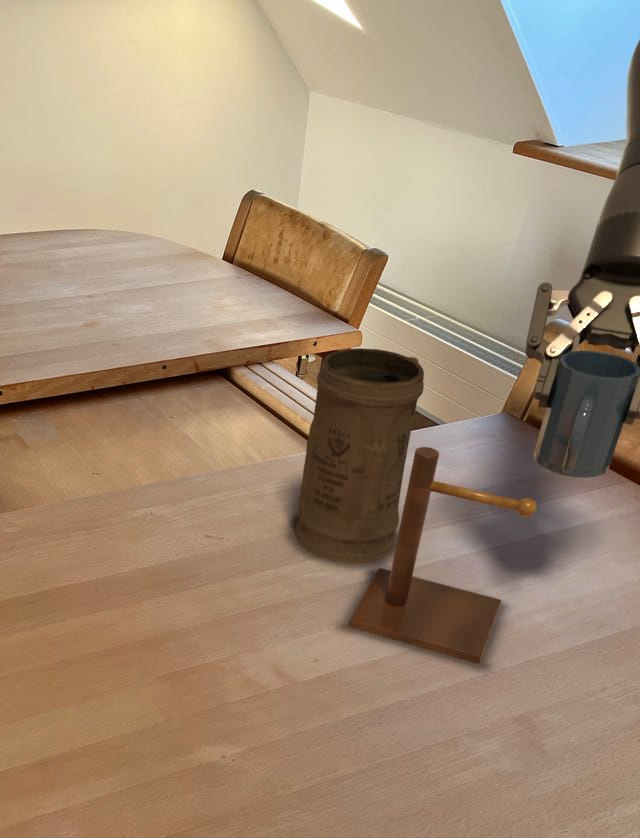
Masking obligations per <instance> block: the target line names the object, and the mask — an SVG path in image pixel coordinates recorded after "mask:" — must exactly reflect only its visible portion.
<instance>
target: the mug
mask: <svg viewBox="0 0 640 838" xmlns="http://www.w3.org/2000/svg"><path fill="white" fill-rule="evenodd" d="M639 375H640V367H639V366H638V365H637V364H636V363H635V362H633V360H632V359H629V358H627V357H625V356H621V355H618V354H616V353H612V352H606V351H600V350H586V349H585V350H583V349H582V350H576V351H572V352H568V353H566V354H563V355H562V356H561V358H560V360H559V364H558V368H557V371H556V376H555V379H554V383H553V386H552V390H551V394H550V397H549V401H548V405H547V408H545V412H544V415H543V418H542V423H541V427H540V429H539V434H538V437H537V439H536V444H535V447H534V454H533V458H534V461H535V462H536V463H537V464H538V465H540V466H541V467H542V468H544V469H546V470H547V471H550V472H552V473H554V474H558V475H560V476H561V475H562V476H565V477H572V478H580V479H583V478H584V479H586V478H589V479H590V478H595V477H599V476H602V475H605V474H606V473H607V472H608V471H609V469H610V465H611V463H612V460H613V457H614V454H615V451H616V447H617V446H618V445H617V444H618V442H619V439H620V436H621V432H622V429H623V427H624V424H625V423H624V420H625V417H626V414H627V411H628V408H629V405H630V402H631V399H632V396H633V393H634V390H635V387H636V384H637V381H638V378H639Z"/></svg>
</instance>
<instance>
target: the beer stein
mask: <svg viewBox="0 0 640 838" xmlns="http://www.w3.org/2000/svg"><path fill="white" fill-rule="evenodd" d="M424 378H425V371H424V368H423V366H422V365H421V364H420V363H419V359H418V358H417V357H414V356H413V357H412V356H406V355H403V354H401V353H398V352H393V351H389V350H384V349H378V348H360V347H358V348H357V347H356V348H346V349H341V350H337V351H333V352H331V353H328V354H327V355H326V356H325V357H324V358H323V359H322V362H321V366H320V370H319V371H318V373H317V376H316V381H317V389H316V397H315V406H314V411H313V419H312V421H311V423H310V425H309V431H308V436H307V441H306V448H305V449H306V451H305V457H304V458H305V459H304V465H303V472H302V479H301V485H300V493H299V499H298V515H299V518H298V519H297V522H296V524H295V528H294V532H293V533H294V538H295V540H296V541H297V543H298V544H299V545H300V546H301V547H302V548H303V549H304V550H306V551H307V552H309V553H311V554H312V555H314V556H316V557H318V558H321V559H325V560H327V561H331V562H336V563H342V564H352V565H353V564H354V565H356V564H360V565H361V564H368V563H373V562H377V561H380V560H382V559H385V558H387V557H388V556H389V555H390V554H393V552H394V551H395V549H396V544H397V534H396V530H397V528H398V526H400V525H399V524H400V514H399V505H400V499H401V497H400V496H401V491H402V490H401V489H402V485H403V478H404V473H405V472H404V471H405V466H406V460H407V456H408V449H409V442H410V438H411V434H412V428H413V423H414V418H415V413H416V409H417V403H418V400H419V398H420V397H421V396H422V395H423V392H424V389H425V385H424V384H425V383H424Z"/></svg>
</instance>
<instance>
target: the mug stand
mask: <svg viewBox="0 0 640 838" xmlns="http://www.w3.org/2000/svg"><path fill="white" fill-rule="evenodd" d="M439 456H440V452H439V451H438V450H437V449H436V448H433V447H428V446H421V447H417V448H416V449H415V451H414V455H413V461H412V466H411V469H410V475H409V480H408V484H407V490H406V494H405V501H404V505H403V511H402V514H401V519H400V523H399V524H400V525H399V528H398V533H397V538H396V545H395V548H394V554H393V559H392V564H391V568H390V570H389V569H386V568H381V567H379V568H378V569H377V570H376V573H375V575H374V576H373V578H372V580H371V582H370V584H369V586H368V587H367V589H366V590H365V592H364V594H363V596H362V598H361V600H359V601H360V602H359V603H358V605H357V607H356V609H355V610H354V611H353V614H352V616H351V618H349V619H350V620H349V624H348V627H349V628H351V629H354V630H358V631H362V632H365V633H369V634H371V635H372V634H373V635H376V636H379V637H382V638H386V639H390V640H393V641H397V642H400V643H404V644H406V645H410V646H413V647H417V648H421V649H424V650H428V651H431V652H435V653H438V654H442V655H445V656H448V657H452V658H455V659H459V660H463V661H466V662H469V663H472V664H477V665H480V664H481V660H482V658H483V654H484V651H485V649H486V646H487V644H488V640H489V637H490V634H491V633H492V629H493V626H494V624H495V621H496V618H497V614H498V612H499V610H500V606H501V602H502V599H499V598H495V597H492V596H488V595H484V594H481V593H477V592H472V591H469V590H466V589H463V588H462V589H461V588H457V587H454V586H451V585H446V584H443V583H438V582H435V581H431V580H427V579H424V578H420V577H417V576H413V575H414V570H415V566H416V562H417V557H418V553H419V547H420V544H421V538H422V535H423V529H424V525H425V520H426V515H427V512H428V508H429V502H430V498H431V494H432V492H434V493H436V494H437V493H438V494H442V495H446V496H450V497H454V498H458V499H462V500H463V499H464V500H467V501H471V502H476V503H481V504H484V505H488V506H493V507H497V508H503V509H505V510H510V511H516V512H517V514H518V515H519V516H520V517H522V518H530V517H532V516H533V515H534V514H536V511H537V503H536V501H535V500H534V499H532V498H529V497H523V498H521V499H520V500H519V499H515V498H510V497H506V496H502V495H497V494H493V493H490V492H489V493H488V492H483V491H479V490H476V489H471V488H467V487H462V486H458V485H453V484H449V483H444V482H441V481H435V475H436V471H437V467H438V462H439Z"/></svg>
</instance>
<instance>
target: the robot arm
mask: <svg viewBox="0 0 640 838" xmlns="http://www.w3.org/2000/svg"><path fill="white" fill-rule="evenodd" d="M625 129H626V143H625V147H624V151H623V153H622V156H621V160H620V163H619V165H618V169H617V172H616V175H615V178H614V180H613V184H612V186H611V189H610V191H609V193H608V195H607V197H606V199H605V201H604V204H603V206H602V209H601V212H600V215H599V218H598V222H597V224H596V227H595V231H594V234H593V237H592V241H591V244H590V247H589V250H588V252H587V256H586V259H585V263H584V265H583V268H582V271H581V274H580V278H579V280H578V281H577V282H576V284H575V285H574V286H573V287H571V289H556V288H553V285H552V284H551V283H550V282H542V283H540V284H539V285H538V287H537V290H536V295H535V300H534V304H533V310H532V314H531V319H530V322H529V328H528V333H527V337H526V343H525V356H526V357H527V358H528V359H531V360H532V359H535V360H537V361H538V362H539V363H540V368H539V372H538V374H537V378H536V381H535V384H534V388H533V399H534V400H537V401H538V406H537V407H539V408H544V409H546V408H547V405H548V401H549V397H550V394H551V390H552V386H553V383H554V379H555V376H556V371H557V368H558V364H559V360H560V358H561V356H562V355H563V354H566V353H568V352H572V351H578V349H579V348H581V346H583V344H585V342H587V345H591V346H608V347H611V348H614V349H616V350H621V351H626V349H628V348H629V349H628V350H629V352H630V357H631V361H633V362H635V363H636V364H637V365H638V366H639V367H640V39H639V40H638V42H637V44H636V46H635V49H634V51H633V53H632V56H631V60H630V63H629V69H628V73H627V82H626V125H625ZM564 306H567V309H568V311H569V313H570V315H571V318H572V320H571V321H570V322H568V323H567V325H566V326H564V327H565V328H564V329H563V330H562V332H561V333H560V334H559V335H558V336H557V337H556V338H555V339H554V340H552V341H551V342H549V341H548V340H545V339H544V335H545V331H546V327H547V326H546V325H547V320H548V317H553V316H555V315H557V314H558V312H559V310H560V309H561V307H564ZM635 419H636V420H640V375H639V378H638V381H637V384H636V387H635V390H634V393H633V396H632V399H631V402H630V405H629V408H628V411H627V414H626V417H625V420H624V424H626V425H630V426H633V425H634V422H635Z"/></svg>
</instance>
